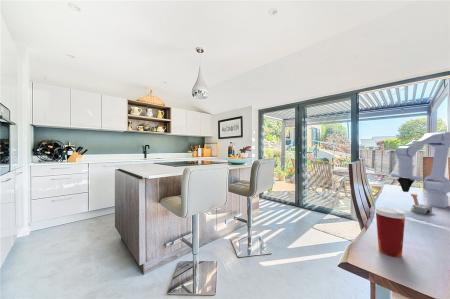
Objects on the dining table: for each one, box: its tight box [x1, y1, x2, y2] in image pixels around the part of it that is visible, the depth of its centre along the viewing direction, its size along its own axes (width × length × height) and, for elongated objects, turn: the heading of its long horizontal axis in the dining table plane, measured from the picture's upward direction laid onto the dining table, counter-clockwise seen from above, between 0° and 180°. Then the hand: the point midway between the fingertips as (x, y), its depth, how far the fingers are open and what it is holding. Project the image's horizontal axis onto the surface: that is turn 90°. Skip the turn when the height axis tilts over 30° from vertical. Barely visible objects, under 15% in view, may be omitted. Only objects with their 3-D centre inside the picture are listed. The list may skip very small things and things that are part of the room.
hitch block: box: [413, 204, 433, 216], centre depth 93 cm, size 8×4×4 cm, turn 112°
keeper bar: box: [410, 193, 420, 205], centre depth 101 cm, size 10×2×1 cm
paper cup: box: [374, 206, 407, 258], centre depth 59 cm, size 8×8×14 cm
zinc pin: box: [410, 206, 434, 216], centre depth 93 cm, size 5×7×3 cm, turn 22°
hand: (405, 191), depth 101 cm, fingers closed
